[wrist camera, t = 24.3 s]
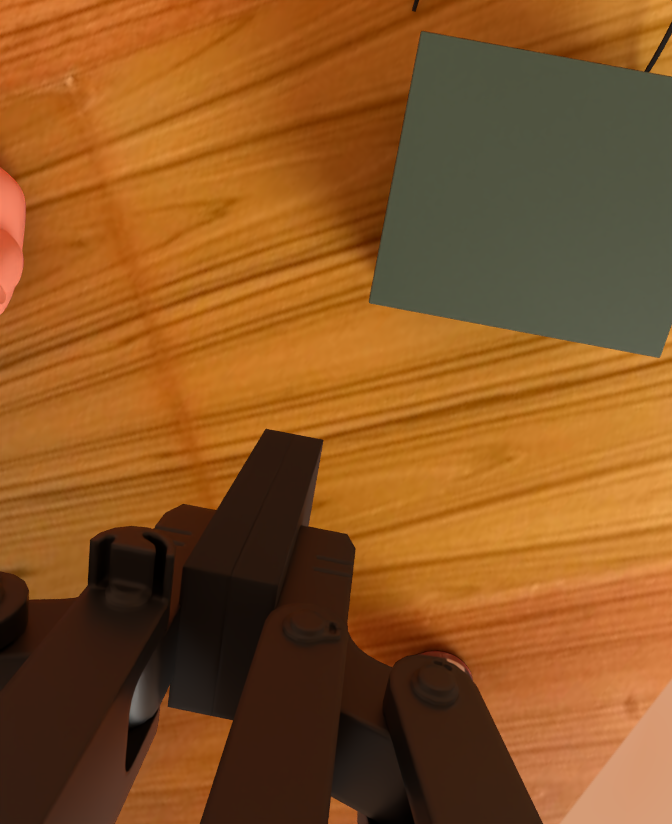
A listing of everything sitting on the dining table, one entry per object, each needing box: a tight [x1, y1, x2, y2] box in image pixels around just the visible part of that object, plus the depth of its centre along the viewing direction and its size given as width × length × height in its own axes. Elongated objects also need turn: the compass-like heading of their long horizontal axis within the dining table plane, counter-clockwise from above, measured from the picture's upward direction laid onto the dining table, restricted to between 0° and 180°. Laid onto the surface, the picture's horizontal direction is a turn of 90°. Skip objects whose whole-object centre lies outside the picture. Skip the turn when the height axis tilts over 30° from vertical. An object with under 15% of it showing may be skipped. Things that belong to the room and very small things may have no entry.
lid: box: [369, 31, 672, 358], centre depth 31 cm, size 15×13×1 cm
